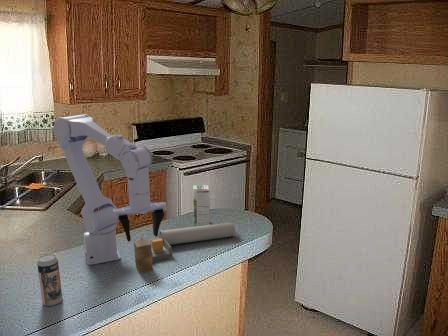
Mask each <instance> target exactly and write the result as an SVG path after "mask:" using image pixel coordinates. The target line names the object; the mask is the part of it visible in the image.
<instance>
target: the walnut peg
mask: <svg viewBox="0 0 448 336" xmlns="http://www.w3.org/2000/svg"><path fill="white" fill-rule="evenodd" d="M149 241H150V240H149V239H148V238H147V239H145V240H141V239H140V240H136V241H135V240H134V242H133V247H134V248H133V250H134V261H135V268H136V270H137V273H138V274H141V273H146V272H151V271H153V270H154V267H153V262H152V250H151V243H150V242H149Z"/></svg>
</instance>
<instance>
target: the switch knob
mask: <svg viewBox="0 0 448 336" xmlns="http://www.w3.org/2000/svg"><path fill="white" fill-rule="evenodd" d="M152 249H153V251H155V250H160V249H163V240H162V239H159V238H157V239H152Z"/></svg>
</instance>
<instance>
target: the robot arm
mask: <svg viewBox="0 0 448 336" xmlns="http://www.w3.org/2000/svg"><path fill="white" fill-rule="evenodd" d="M52 132H53V134H54V136H55V138H56V140H57V143H58V146H59V148H60V149H61V151H62V153H63V155H64V157H65V158H64V159H66V162H67V165H68V166H69V169H70V171H71V174H72V175H73V179H74V180H75V182H76V185H77V187H78V190H79V192H80V194H81V196H82V199H83V200H84V203H85V204H84V206H83V207H82V208H81V211H80V214H81V216H82V223H83V226H84V228H85V229H86V231H85V232H83V242H84V243H83V244H84V257H85V258H86V262H87V265H88V266H92V265H98V264H103V263H107V262H112V261H118V260H121V259H122V258H121V255H120V253H119V251H118V247H117V245H118V244H117V234H116V228H117V227H118V223H119V222H120V224H121V226H122V228H123V230H124V233H125V236H126V240H127V242H131V240H132V237H131V232H130V221H131V220H130V219H129V216H134V215H141V214H142V215H143V214H147V213H151V216H152V217H151V218H152V231H153V235H154V236H155V237H159V231H160V225H161V223H162V221H163V219H164V217H165V212H164V211H167V210H168V209H167V203H166V202H165V201H162V202H161V201H160V202H151V192H150V191H151V190H150V173H149V167H150V166H151V165H152V163H153V154H152V152H151V151H150V150H149V148H147V146H144V145H142V146H137V145H136V144H135V143H131V142H130V141H128V140H127V139H126V138H124V136H123V135H122V134H113V135H111V133H109V132H107V131H106V130H105V129H104V128H102V127H101V126H99V125H98V124H97V123H95V121H94V118H93V117H91V116H90V115H88V114H86V113H82V114H79V115H71V116H64V117H61V116H59V117H57V118H55V120H54V125H53V129H52ZM89 139H92V140H93V141H95V142H97V143H98V144H100V145H102V146H104V149H105V150H104V151H105V152H106V153H107V154H109V155H111V157H114V159H116V160H118V161H120V163H121V165H122V167H123V169H124V171H125V172H124V173H125V174H124V175H125V176H126V178H127V185H128V186H127V189H128V201H129V202H128V203H129V205H127V206H124V207H120V208H118V207H116V204H114V202H113V200H112V199H111V198H109V197H106V196H104V195H103V193H102V190H101V189H100V187H99V184H98V181H97V180H96V177H95V175H94V173H93V171H92V168H91V166H90V163H89V161H88V160H87V157H86V154H85V153H84V150H83V146H84V145H85V144H86V142H87V141H88V140H89ZM155 237H154V238H155Z"/></svg>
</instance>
